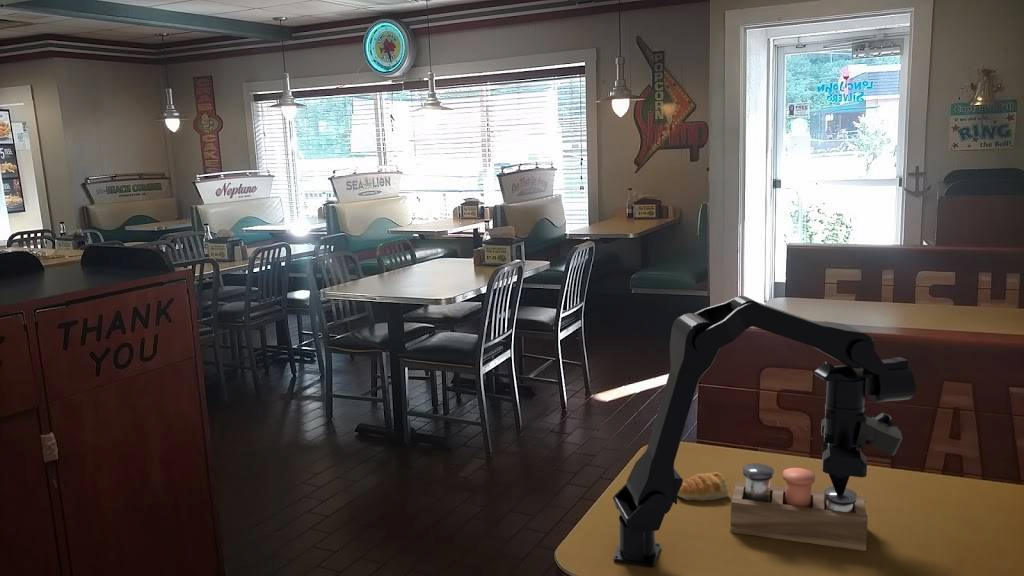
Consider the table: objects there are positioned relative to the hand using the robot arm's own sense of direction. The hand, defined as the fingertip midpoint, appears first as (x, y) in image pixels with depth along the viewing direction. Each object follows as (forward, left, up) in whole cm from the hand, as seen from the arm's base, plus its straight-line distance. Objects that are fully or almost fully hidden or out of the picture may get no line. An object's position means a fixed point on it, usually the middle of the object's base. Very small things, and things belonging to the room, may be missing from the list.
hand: (839, 493), depth 131 cm
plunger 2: (0, 0, -6) cm, 6 cm away
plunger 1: (0, +13, -3) cm, 13 cm away
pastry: (+9, +23, -8) cm, 26 cm away
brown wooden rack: (0, +6, -7) cm, 10 cm away
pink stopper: (0, +6, -3) cm, 7 cm away
